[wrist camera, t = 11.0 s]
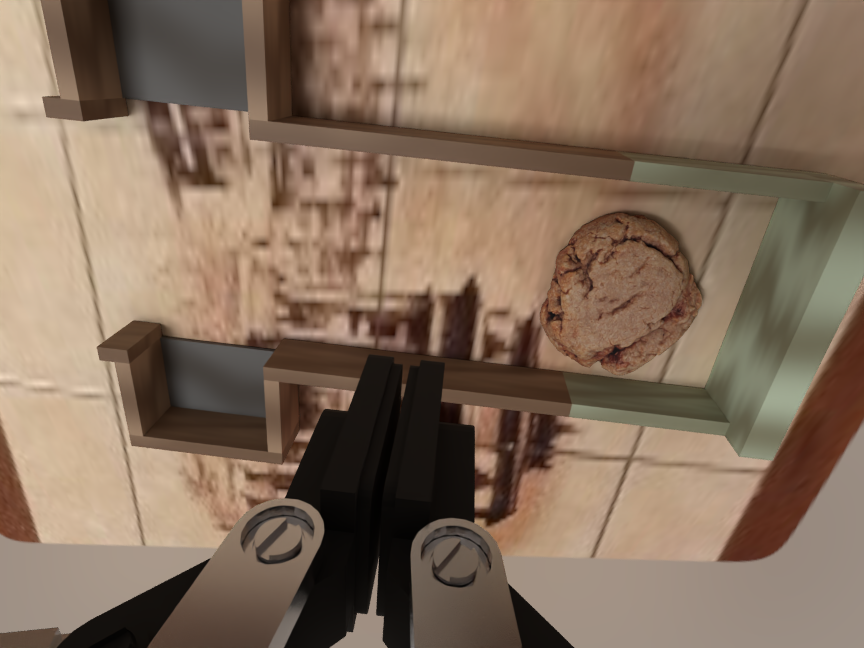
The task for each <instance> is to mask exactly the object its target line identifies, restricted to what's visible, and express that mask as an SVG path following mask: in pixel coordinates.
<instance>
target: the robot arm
mask: <svg viewBox="0 0 864 648" xmlns="http://www.w3.org/2000/svg"><path fill="white" fill-rule="evenodd" d="M444 369H445V362H437V361H428V360H421V361H420V366H413V365H410V368H409V373H408V378H407V383H406V387H405V392H404V397H403V401H402V406H401V411H400V405H401V390H402V374H403V364H395V363H394V357H391V356H382V355H373V354H369V355H368V357H367V360H366V363H365V366H364V369H363V371H362V374H361V377H360V380H359V382H358V385H357V388H356V391H355V393H354V396H353V399H352V402H351V404H350V407H349V410H348V411H340V410H331V409H325V410H324V411H323V412H322V414H321V416H320V419H319V421H318V423H317V425H316V428H315V430H314V432H313V435H312V437H311V439H310V442H309V444H308V446H307V449H306V451H305V453H304V455H303V458H302V460H301V462H300V465H299V467H298V469H297V472H296V474H295V476H294V478H293V481H292V483H291V485H290V488H289V490H288V492H287V495H286V497H285V498H284V499H276V500H270V501H267V502H265V503H262V504H259V505H257V506H255V507H254V508H252V509H251V510H249V511H248V512H246V513H245V514H244V515H243V516H242V517H241V518H240V519H239V520H238V522H237V523H236V524H235V525H234V527H233V528H232V530H231V531H230V532H229V534H228V535H227V537H226V538H225V539H224V541H223V542H222V544H221V545H220V546H219V548H218V549H217V551H216V552H215V553H214V555H213V556H212V558H210V559H208V560H206V561H204V562H202V563H200V564H198V565H196V566H194V567H193V568H190V569H189V570H187V571H185V572H183V573H181V574H179V575H177V576H175V577H173V578H171V579H169V580H167V581H165V582H163V583H161V584H160V585H158V586H155V587H154V588H152V589H150V590H148V591H146V592H144V593H142V594H140V595H138V596H136V597H134V598H132V599H130V600H128V601H126V602H124V603H122V604H121V605H119V606H117V607H115V608H113V609H111V610H109V611H107V612H105V613H103V614H101V615H99V616H97V617H95V618H93V619H91V620H90V621H88V622H87V623H85V624H84V625H82V626H80V627H79V628H77V629H76V630H74V631H73V632H72V633H69V634H61V633H60V631H59V628H58V627H57V628H47V629H37V630H27V631H18V632H8V633H0V648H330V647H331V646H332V645H334V644H335V643H337V642H338V641H339V640H341V639H342V638H344V637H345V636H346V633H347V632H353V629H354V624H355V619H356V615H357V613H361V614H367V613H368V609H369V605H370V600H371V594H372V589H373V584H374V579H375V574H376V569H377V564H378V559H379V571H378V590H377V609H376V615H378V616H384V627H383V642H384V643H385V645H386V646H387V647H388V648H574V647H573V646H572V645H571V644H570V643H569V642H568V641H567V640H566V639H565V638H564V637H563V636H562V635H561V634H560V633H559V632H557V630H555V628H554V627H553V626H551V625H550V624H549V623H548V622H547V621H546V620H545V619H544V618H543V617H542V616H541V615H540V614H539V613H538V612H537V611H536V610H535V609H534V608H533V607H532V606H531V605H530V604H529V603H528V602H527V601H526V600H525V599H524V598H523V597H521V595H519V593H518V592H517V591H516V590H514V589H513V588H512V587H511V586H510V585H509V584H508V582H507V577H506V573H505V568H504V564H503V560H502V555H501V552H500V550H499V547H498V545H497V542H496V541H495V540H494V539H493V537H492V536H491V535H490V534H489V532H487V531H486V530H484V529H483V528H482V527H480V526H479V525H477V524H475V523H474V497H475V427H474V426H472V425H464V424H455V423H446V422H439V418H440V408H441V399H442V389H443V379H444Z"/></svg>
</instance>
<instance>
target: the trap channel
mask: <svg viewBox="0 0 864 648" xmlns="http://www.w3.org/2000/svg"><path fill="white" fill-rule="evenodd" d="M41 5H42V10H43V14H44V19H45V24H46V29H47V34H48V39H49V44H50V49H51V54H52V58H53V63H54V68H55V73H56V78H57V83H58V88H59V93H60V96H47V97H42V98H43V103H44V108H45V112H46V117H50V118H59V119H68V120H77V121H89V120H98V119H106V118H115V117H123V116H128V109H127V103H126V98H127V99H137V100H146V101H155V102H164V103H173V104H183V105H192V106H201V107H210V108H220V109H229V110H238V111H247V112H248V115H249V133H250V140H259V141H268V142H277V143H287V144H296V145H305V146H314V147H323V148H332V149H341V150H350V151H359V152H369V153H378V154H387V155H396V156H405V157H414V158H423V159H432V160H441V161H451V162H460V163H469V164H478V165H487V166H496V167H505V168H514V169H524V170H533V171H542V172H551V173H560V174H569V175H578V176H587V177H596V178H606V179H615V180H624V181H633V182H642V183H651V184H660V185H669V186H678V187H688V188H697V189H706V190H715V191H724V192H733V193H742V194H751V195H760V196H770V197H779V199H778V202H777V204H776V207H775V209H774V212H773V215H772V217H771V220H770V222H769V225H768V227H767V230H766V233H765V235H764V238H763V240H762V243H761V245H760V248H759V251H758V253H757V256H756V258H755V261H754V263H753V266H752V269H751V271H750V274H749V276H748V279H747V281H746V284H745V286H744V289H743V292H742V294H741V297H740V299H739V302H738V304H737V307H736V310H735V312H734V315H733V317H732V320H731V322H730V325H729V328H728V330H727V333H726V335H725V338H724V340H723V343H722V346H721V348H720V351H719V353H718V356H717V358H716V361H715V364H714V366H713V369H712V371H711V374H710V376H709V379H708V382H707V384H706V387H705V389H703V388H695V387H687V386H678V385H670V384H661V383H653V382H645V381H636V380H628V379H619V378H611V377H603V376H594V375H586V374H577V373H569V372H561V371H552V370H544V369H535V368H527V367H519V366H510V365H502V364H493V363H485V362H476V361H468V360H460V359H451V358H443V357H434V356H426V355H418V354H409V353H401V352H392V351H384V350H376V349H367V348H359V347H350V346H342V345H334V344H325V343H317V342H308V341H300V340H292V339H283V340H282V341H281V343H280V344H279V346H278V347H277V348H276V350H274V349H266V348H257V347H249V346H240V345H232V344H224V343H215V342H207V341H199V340H190V339H182V338H174V337H165V336H162V331H161V325H160V324H157V323H149V322H140V321H132V322H131V323H129V324H128V325H127V326H125V327H124V328H122V329H121V330H120V331H118V332H117V333H115V334H114V335H113V336H111V337H110V338H108V339H107V340H106V341H104V342H103V343H102V344H100V345H99V346H97V350H98V355H99V359H100V360H103V361H111V362H115V367H116V372H117V377H118V381H119V386H120V391H121V396H122V401H123V406H124V411H125V416H126V421H127V425H128V430H129V435H130V440H131V445H132V446H138V447H146V448H154V449H162V450H170V451H178V452H186V453H194V454H202V455H210V456H218V457H226V458H234V459H242V460H250V461H258V462H266V463H274V464H283V462H284V460H285V458H286V456H287V454H288V452H289V450H290V448H291V446H292V444H293V442H294V440H295V438H296V436H297V434H298V432H299V391H298V384H301V385H309V386H317V387H326V388H334V389H342V390H350V391H356V388H357V385H358V382H359V380H360V377H361V374H362V371H363V369H364V366H365V363H366V360H367V357H368V355H369V354H373V355H382V356H391V357H394V363H395V364H403V374H402V390H401V397H404V392H405V387H406V383H407V378H408V373H409V368H410V365H413V366H420V361H421V360H428V361H437V362H445V369H444V379H443V389H442V399H441V402H450V403H458V404H466V405H474V406H483V407H491V408H499V409H507V410H516V411H524V412H532V413H540V414H549V415H557V416H565V417H573V418H582V419H590V420H598V421H606V422H615V423H623V424H631V425H640V426H648V427H656V428H664V429H673V430H681V431H689V432H697V433H706V434H714V435H722V436H725V437H726V438H727V440H728V441H729V443H730V444H731V446H732V447H733V448H734V450H735V451H736V453H737V454H738V456H739V457H747V458H755V459H763V460H773V458H774V456H775V454H776V452H777V450H778V448H779V446H780V444H781V442H782V440H783V438H784V436H785V434H786V432H787V430H788V428H789V426H790V424H791V422H792V420H793V418H794V416H795V414H796V412H797V410H798V408H799V406H800V404H801V402H802V400H803V398H804V396H805V394H806V392H807V390H808V388H809V386H810V384H811V382H812V379H813V377H814V375H815V373H816V371H817V369H818V367H819V365H820V363H821V361H822V359H823V357H824V355H825V353H826V351H827V349H828V347H829V345H830V343H831V341H832V339H833V337H834V335H835V333H836V331H837V329H838V327H839V325H840V323H841V321H842V319H843V317H844V315H845V313H846V311H847V309H848V307H849V305H850V303H851V301H852V299H853V297H854V295H855V292H856V290H857V288H858V286H859V284H860V282H861V280H862V278H863V276H864V184H860V183H857V182H853V181H850V180H846V179H843V178H839V177H836V176H832V175H828V174H824V173H815V172H806V171H797V170H788V169H778V168H769V167H760V166H751V165H741V164H732V163H723V162H714V161H704V160H695V159H686V158H677V157H668V156H658V155H649V154H640V153H631V152H621V151H612V150H603V149H594V148H584V147H575V146H566V145H557V144H548V143H538V142H529V141H520V140H511V139H501V138H492V137H483V136H474V135H465V134H455V133H446V132H437V131H428V130H418V129H409V128H400V127H391V126H381V125H372V124H363V123H354V122H345V121H335V120H326V119H317V118H308V117H298V116H292V89H291V46H290V3H289V0H41Z"/></svg>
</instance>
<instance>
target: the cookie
mask: <svg viewBox="0 0 864 648" xmlns="http://www.w3.org/2000/svg"><path fill="white" fill-rule="evenodd" d="M678 246H679V243H678V242H677V240H676V239H675V238H674V237H673V236H671V235H670V234H669V233H668V232H667V231H666V230H665V229H663V228H662V227H661V226H660V225H659V224H658V223H656V222H655V221H653V220H648V219H647V218H646V217H645V216H643V215H635V216H629V215H627V214H625V213H614V214H608V215H605V216H602V217H599V218H597V219H595V220H593V221H591V222H590V223H589V224H585V225H583V226H582V227H581V228H580V229H579V230H577V231H576V232H575V234H574V235H573V237H572V238H571V240H570V241H569V243H568V246H567V247H566V248H564V249H563V250H561V251H560V252H559V254H558V256H557V259H556V269H555V273H554V275H553V279H552V282H551V289H550V290H549V291H548V293H547V295H548V299H546V301H545V302H544V303H543V305H542V308H541V312H540V322H541V324H542V326H543V328H544V330H545V332H546V335H547V336H548V338H549V339H550V341H551V342H552V343H553V345H554V346H555V347H556V349H557V350H558V351H560V352H562V353H563V354H564V355H565V356H569V357H570V358H571V359H574V360H575V361H576V362H578V363H579V364H581V365H582V366H585V367H589V368H590V367H591V366H592V364H593V363H595V362H597V361H600V362H601V365H602V368H604V369H606V370H608V371H609V372H611V373H612V374H615V375H624V374H627V373H631V372H633V371H635V370H636V369H638V368H639V367H641V366H642V365H644V364H645V363H647V362H649V361H650V360H652V359H653V358H654V357H655V356H656V355H660V354H662V353H663V352H664V351H666V350H667V349H668V348H669V347H670V346H671V345H673V344H674V343H675V342H676V341H677V340H679V338H680V337H681V336H682V335H683V334H684V333H685V331H687V329H688V328H689V327H690V325H691V324H692V322H693V320H694V318H695V317H696V316H697V313H698V311H697V310H698V309H699V308H700V306H701V304H702V296H701V293H700V291H699V290H698V289H697V287H696V284H695V281H694V278H693V277H694V276H693V275H692V274H690V273H689V264H688V261H687V259H686V257H685V256H684V255H683V254H682V253H681V252H680V251H679V247H678Z"/></svg>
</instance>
